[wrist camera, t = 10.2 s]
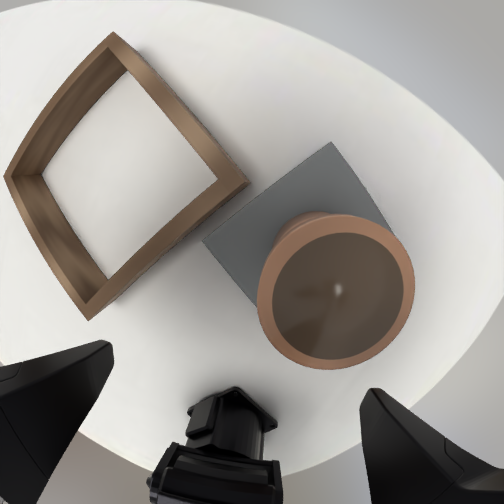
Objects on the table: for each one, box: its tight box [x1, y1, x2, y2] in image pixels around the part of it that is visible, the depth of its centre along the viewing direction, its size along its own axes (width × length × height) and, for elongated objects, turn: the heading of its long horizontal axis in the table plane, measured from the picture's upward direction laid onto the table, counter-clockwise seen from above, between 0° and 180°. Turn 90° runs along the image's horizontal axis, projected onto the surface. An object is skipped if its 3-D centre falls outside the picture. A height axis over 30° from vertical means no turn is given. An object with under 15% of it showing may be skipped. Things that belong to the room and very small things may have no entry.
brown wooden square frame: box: [3, 32, 250, 321], centre depth 17 cm, size 15×15×4 cm
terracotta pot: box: [257, 211, 415, 370], centre depth 14 cm, size 7×7×8 cm
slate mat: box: [202, 142, 394, 307], centre depth 19 cm, size 11×11×1 cm
